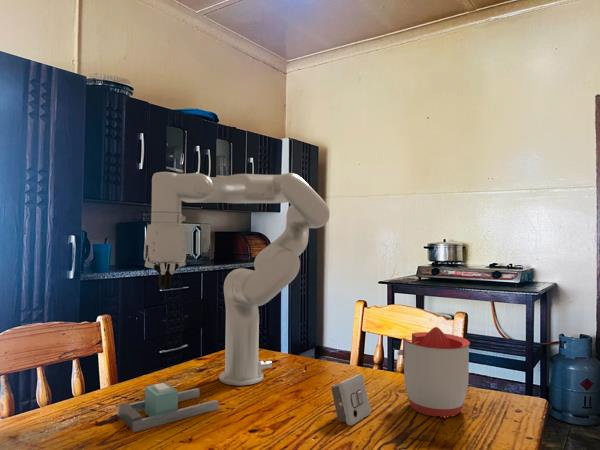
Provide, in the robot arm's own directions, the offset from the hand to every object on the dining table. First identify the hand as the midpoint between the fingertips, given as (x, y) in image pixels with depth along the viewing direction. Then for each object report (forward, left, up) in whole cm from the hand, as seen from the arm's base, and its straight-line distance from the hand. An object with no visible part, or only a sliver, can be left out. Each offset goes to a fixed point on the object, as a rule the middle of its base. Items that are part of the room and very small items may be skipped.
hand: (165, 289), depth 118 cm
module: (+6, +13, -27) cm, 31 cm away
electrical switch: (-28, +41, -27) cm, 57 cm away
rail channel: (+4, +13, -27) cm, 30 cm away
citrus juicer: (-48, +49, -27) cm, 74 cm away
